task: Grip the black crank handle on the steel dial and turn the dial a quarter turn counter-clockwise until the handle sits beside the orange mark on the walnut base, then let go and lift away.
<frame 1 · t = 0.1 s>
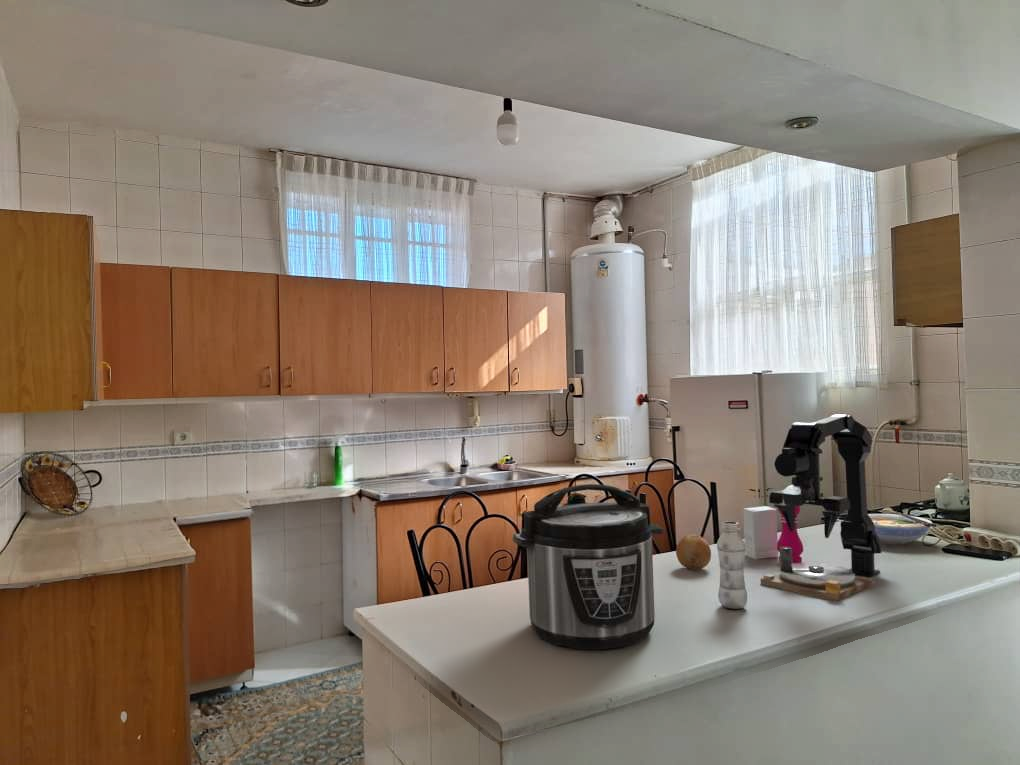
hand: (809, 534, 172), 15 cm above the counter, tool pointing down, fingers open, 9 cm apart
dial base: (816, 584, 179), on the counter
pepper mill: (790, 563, 202), on the counter
plastic bottle: (732, 608, 162), on the counter
skincare box: (761, 557, 210), on the counter
pressure cooker: (592, 633, 148), on the counter
ramen bowl: (892, 542, 225), on the counter
dial: (815, 563, 179), point 6 cm above the counter, hinge at 0.0°
onion: (694, 570, 197), on the counter
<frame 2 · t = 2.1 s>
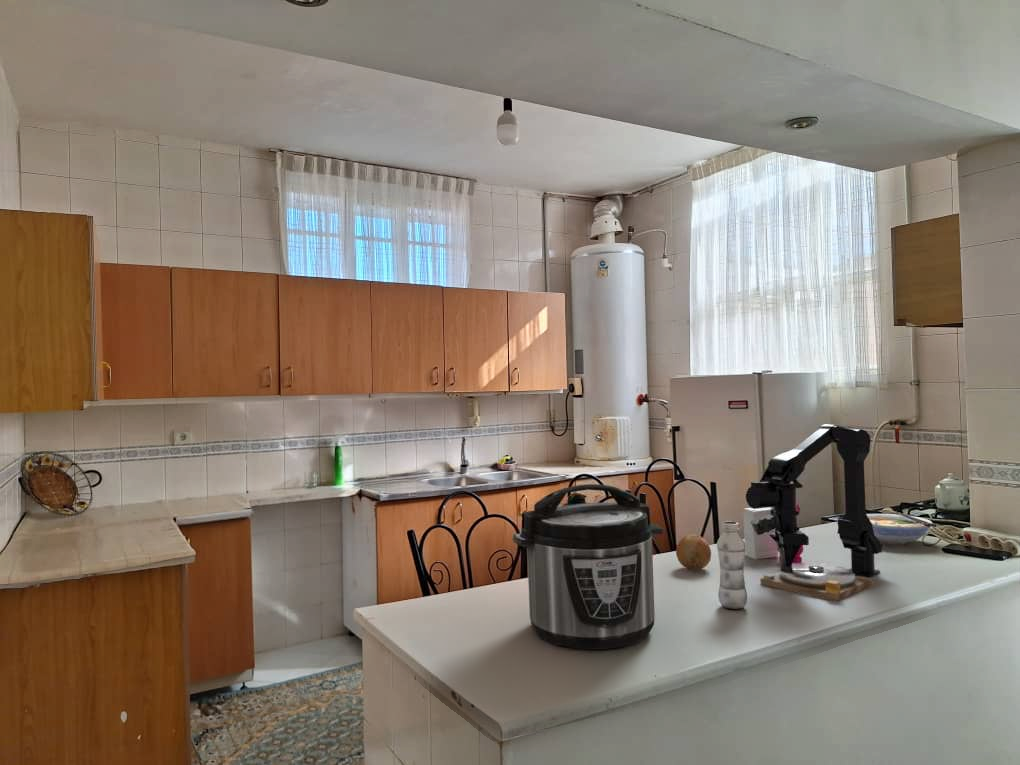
hand: (786, 565, 180), 5 cm above the counter, tool pointing down, fingers closed on dial, 3 cm apart
dial: (815, 563, 179), point 6 cm above the counter, hinge at 0.0°, touching gripper
everything else where it was.
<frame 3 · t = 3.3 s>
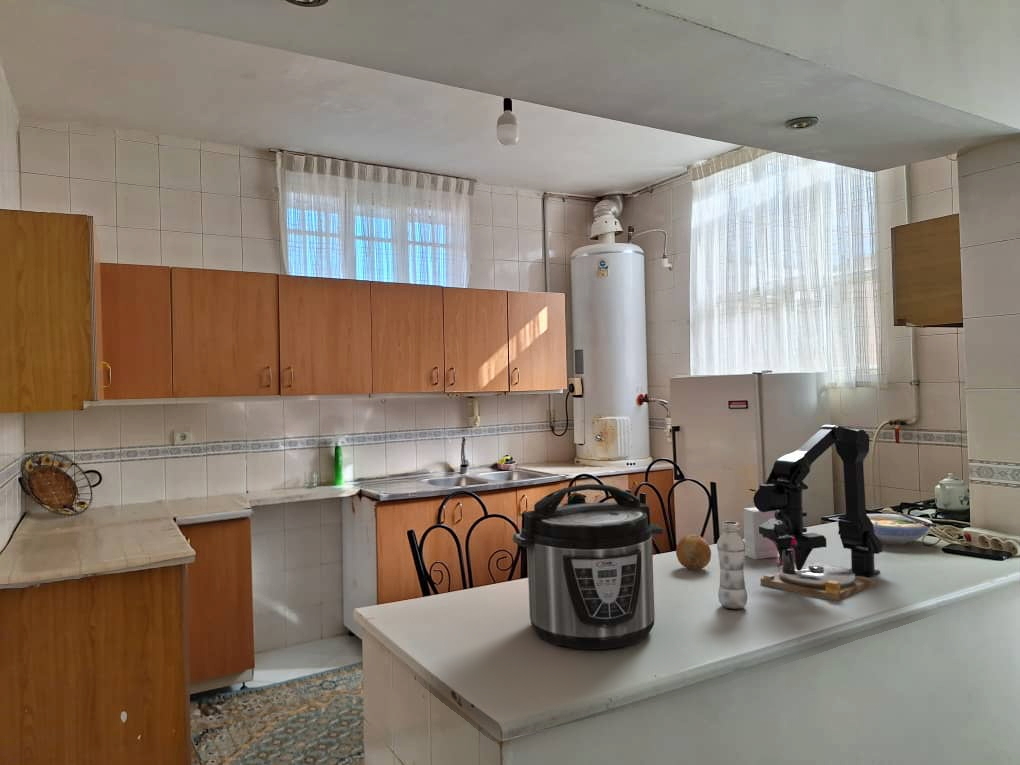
hand: (791, 567, 178), 5 cm above the counter, tool pointing down, fingers open, 5 cm apart
dial: (815, 563, 179), point 6 cm above the counter, hinge at 11.3°, touching gripper
everything else where it was.
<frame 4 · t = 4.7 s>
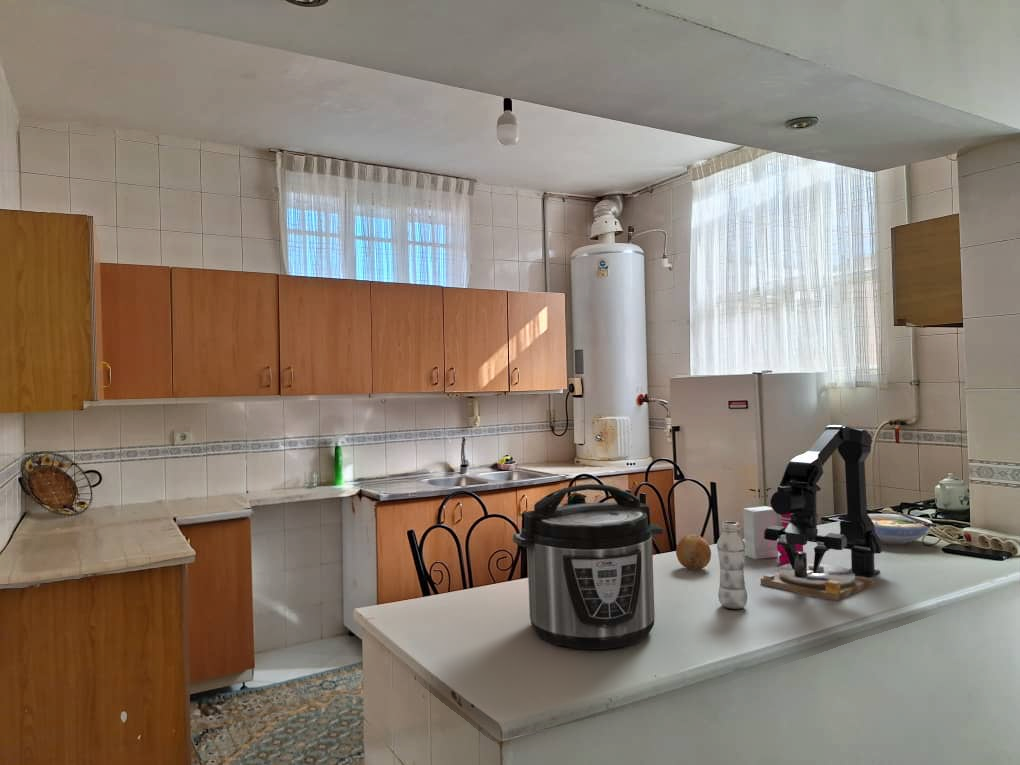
hand: (804, 570, 174), 5 cm above the counter, tool pointing down, fingers open, 5 cm apart
dial: (815, 563, 179), point 6 cm above the counter, hinge at 43.3°, touching gripper
everything else where it was.
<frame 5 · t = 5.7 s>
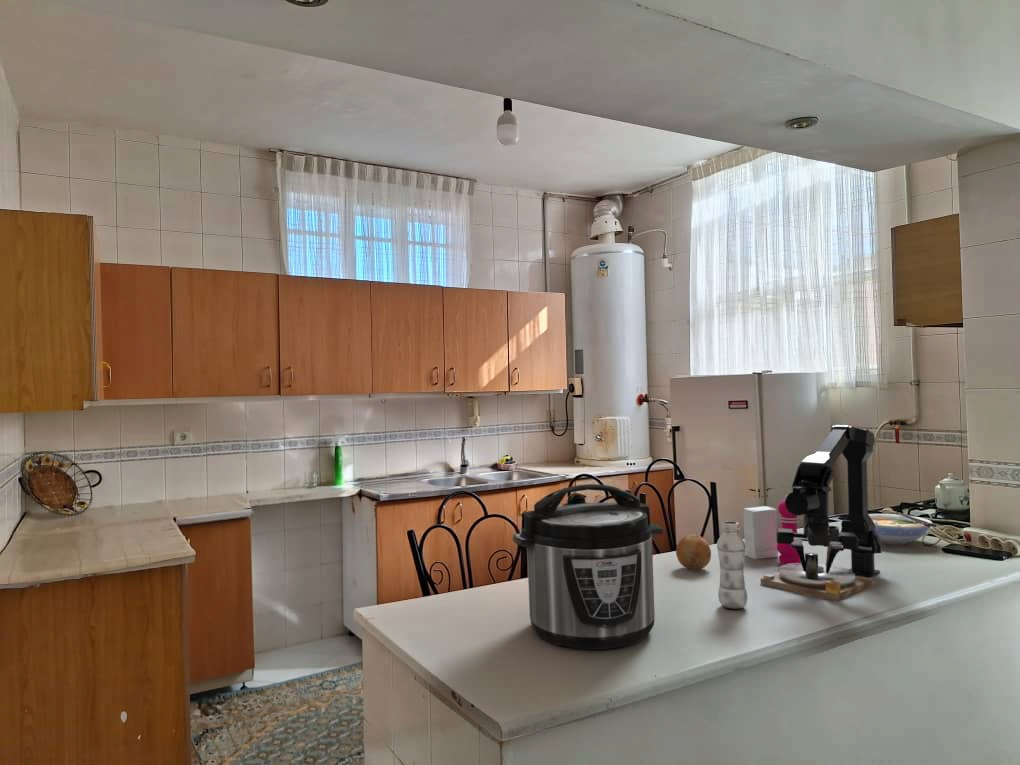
hand: (815, 572, 173), 5 cm above the counter, tool pointing down, fingers open, 5 cm apart
dial: (815, 563, 179), point 6 cm above the counter, hinge at 64.7°, touching gripper
everything else where it was.
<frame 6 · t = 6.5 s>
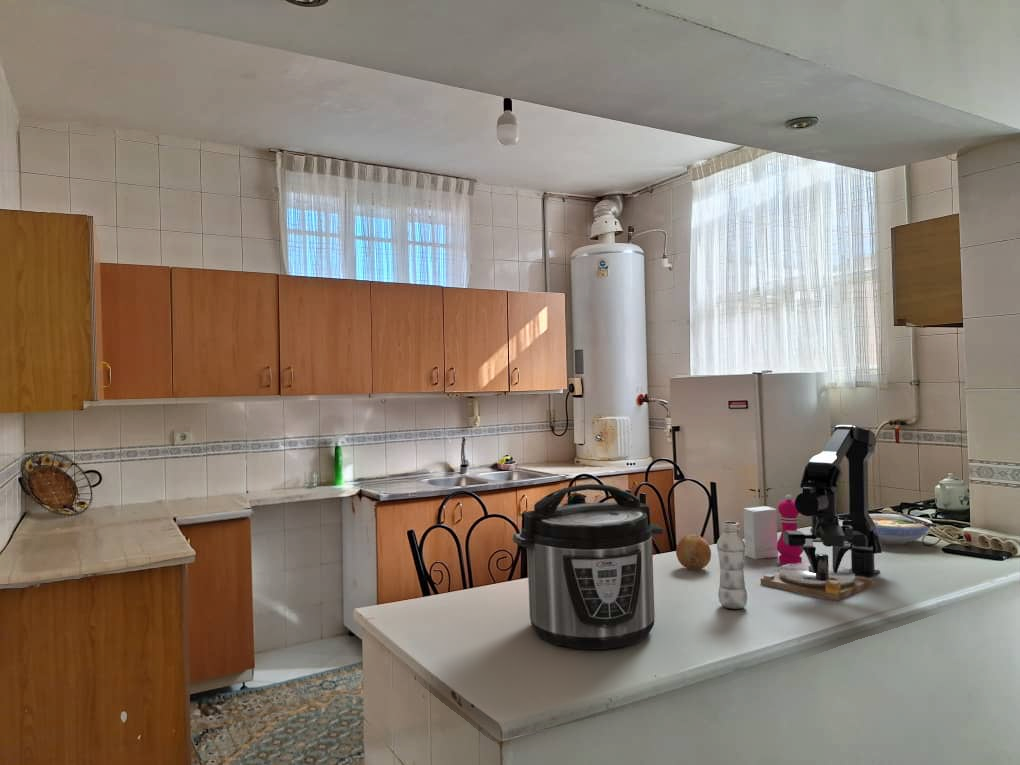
hand: (824, 572, 172), 5 cm above the counter, tool pointing down, fingers open, 4 cm apart
dial: (815, 563, 179), point 6 cm above the counter, hinge at 82.6°, touching gripper
everything else where it was.
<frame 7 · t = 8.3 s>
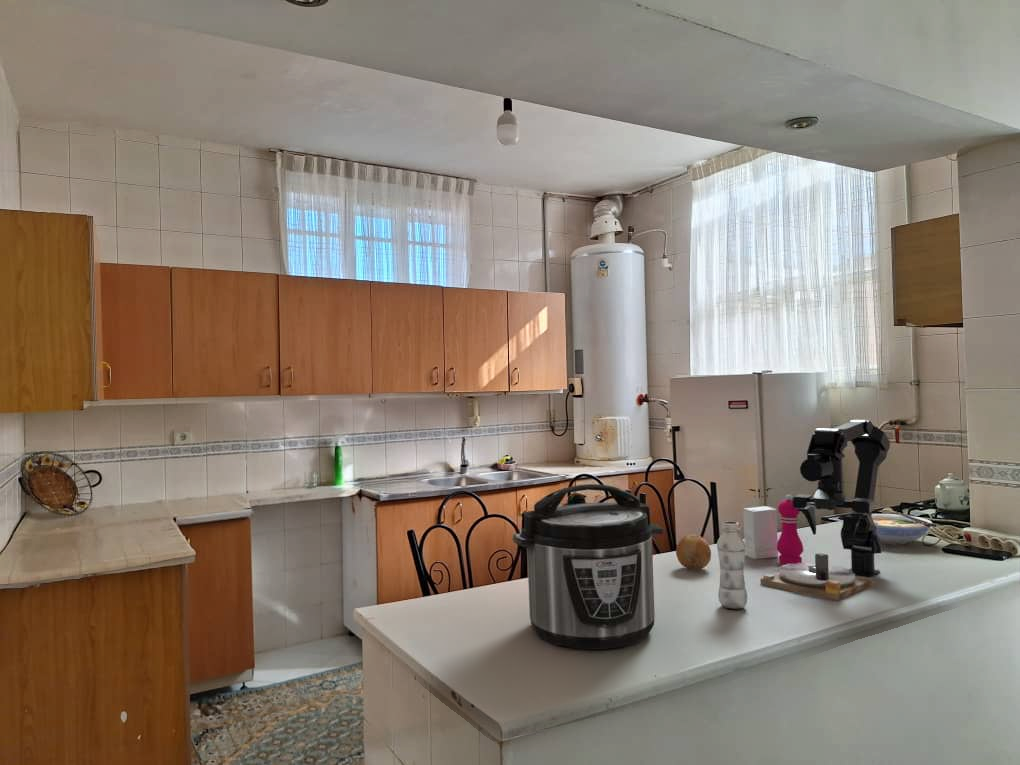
hand: (833, 536, 179), 13 cm above the counter, tool pointing down, fingers open, 9 cm apart
dial: (815, 563, 179), point 6 cm above the counter, hinge at 82.7°
everything else where it was.
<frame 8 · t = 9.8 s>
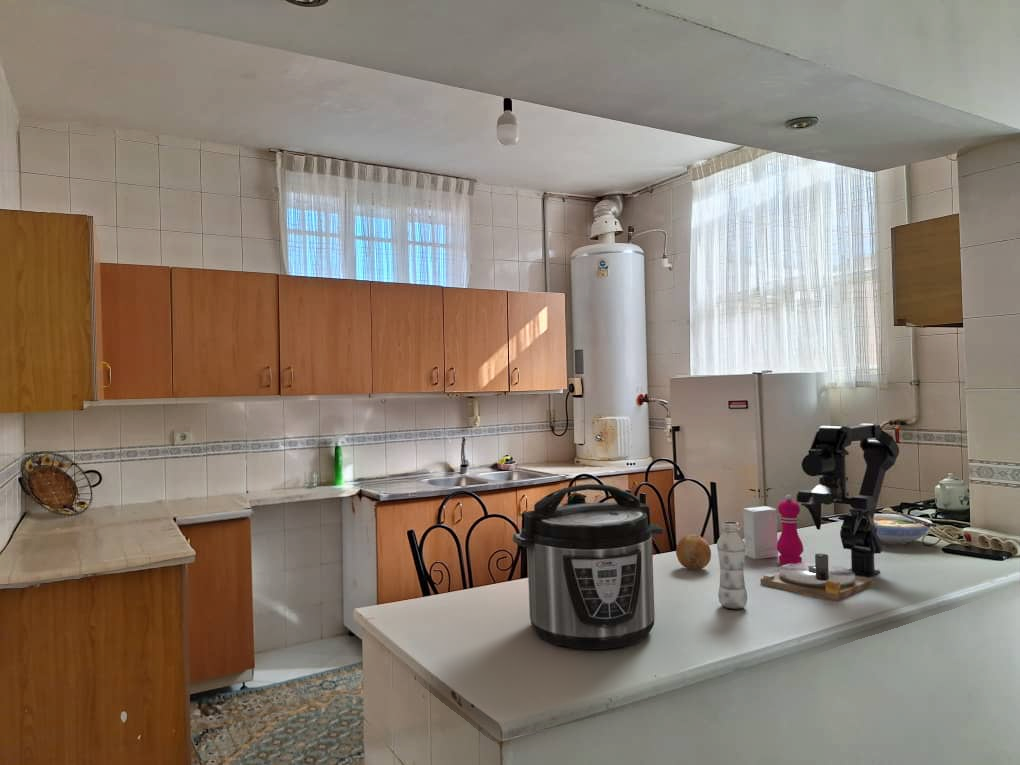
hand: (835, 531, 182), 13 cm above the counter, tool pointing down, fingers open, 9 cm apart
nothing on the counter moved.
at the end: dial at +83° (first picture: +0°); the gripper is holding nothing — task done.
